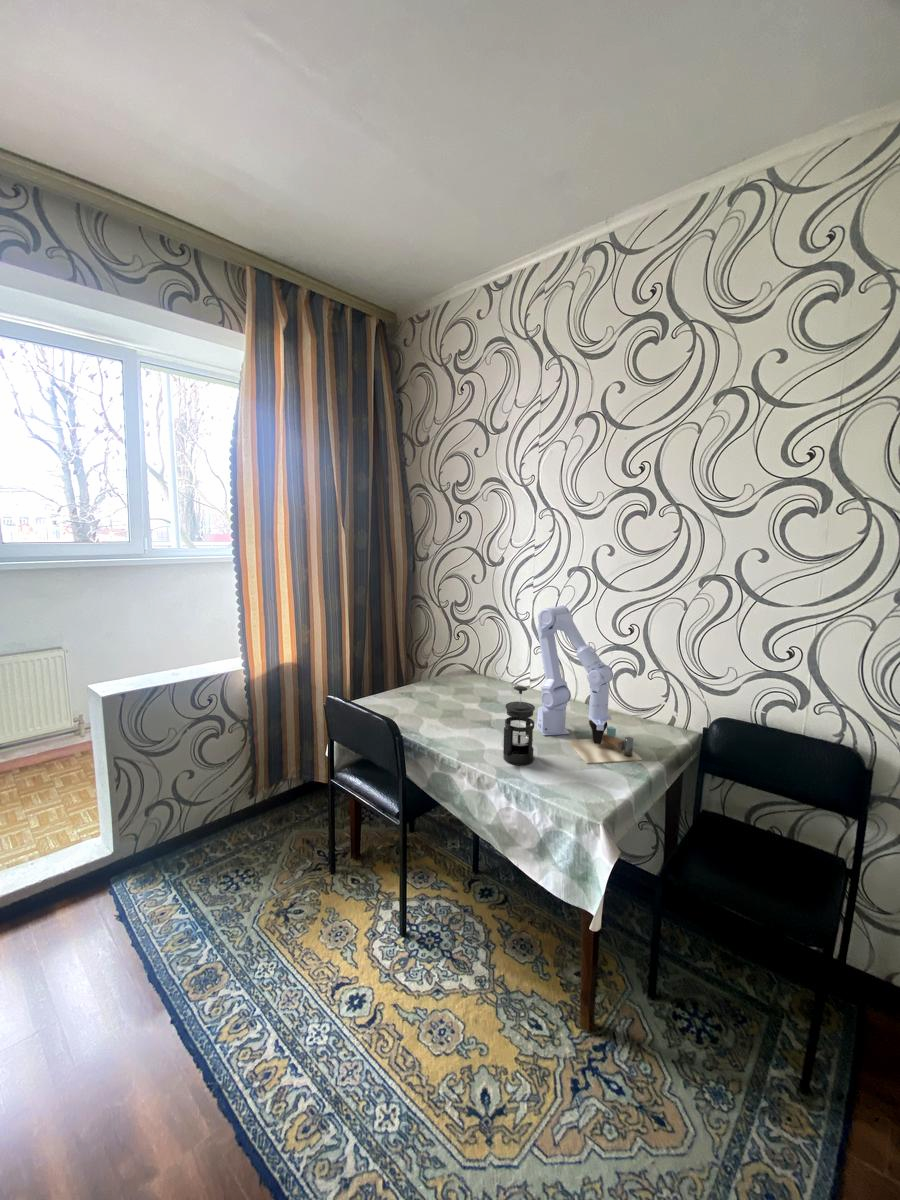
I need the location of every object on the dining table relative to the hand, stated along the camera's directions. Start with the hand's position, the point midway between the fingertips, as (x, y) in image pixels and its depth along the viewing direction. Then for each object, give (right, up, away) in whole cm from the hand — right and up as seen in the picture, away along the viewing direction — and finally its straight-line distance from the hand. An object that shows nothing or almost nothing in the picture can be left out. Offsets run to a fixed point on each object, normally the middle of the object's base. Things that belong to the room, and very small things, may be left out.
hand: (597, 742), depth 160 cm
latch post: (+6, -1, +5) cm, 8 cm away
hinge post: (+8, -3, -6) cm, 10 cm away
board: (+1, -2, -2) cm, 3 cm away
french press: (-27, -3, -8) cm, 28 cm away
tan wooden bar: (+3, -1, 0) cm, 3 cm away
